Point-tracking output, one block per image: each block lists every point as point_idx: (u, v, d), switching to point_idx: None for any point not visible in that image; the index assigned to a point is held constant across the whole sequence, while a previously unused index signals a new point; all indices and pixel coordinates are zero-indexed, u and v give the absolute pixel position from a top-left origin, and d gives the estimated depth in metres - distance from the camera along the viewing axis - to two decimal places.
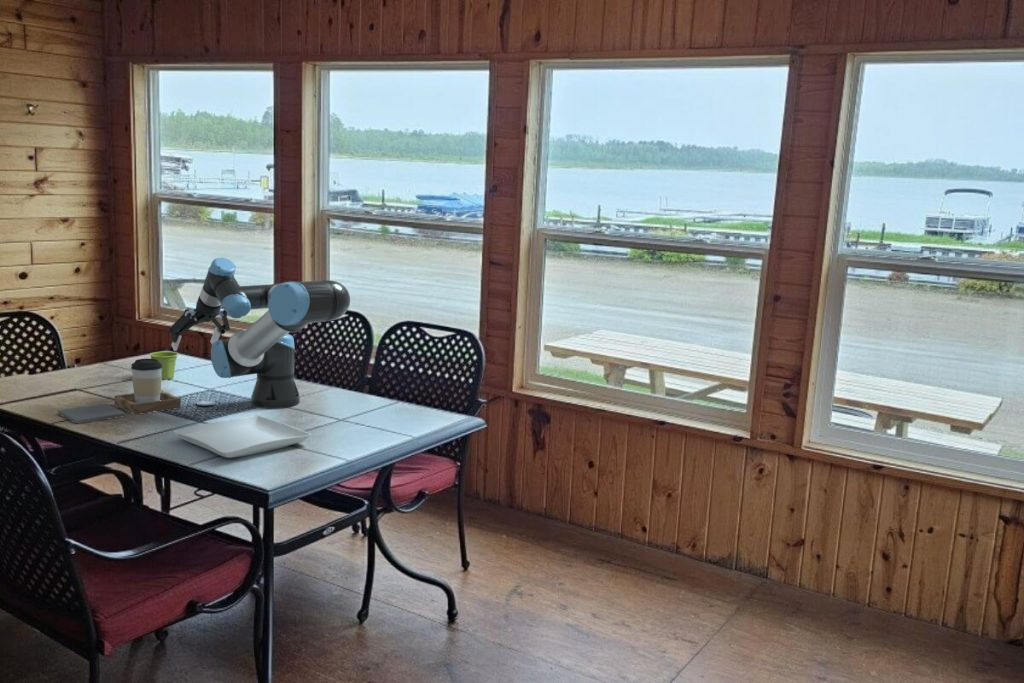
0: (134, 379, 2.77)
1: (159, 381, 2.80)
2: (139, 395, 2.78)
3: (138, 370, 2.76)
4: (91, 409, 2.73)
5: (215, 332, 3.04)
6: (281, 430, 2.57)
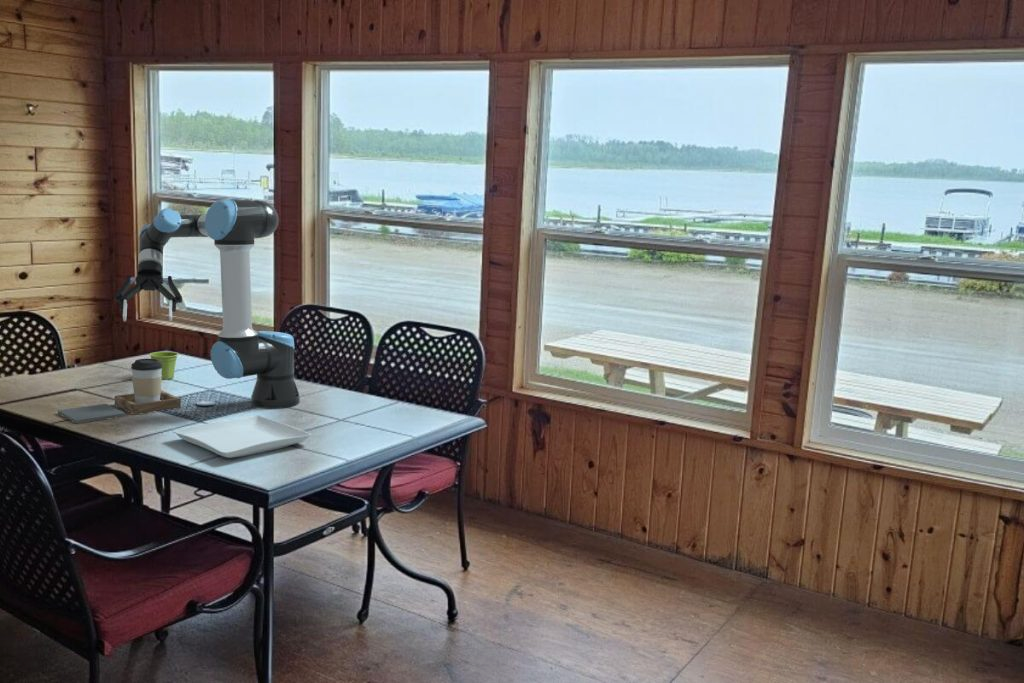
0: (134, 379, 2.77)
1: (159, 381, 2.80)
2: (139, 395, 2.78)
3: (138, 370, 2.76)
4: (91, 409, 2.73)
5: None
6: (281, 430, 2.57)
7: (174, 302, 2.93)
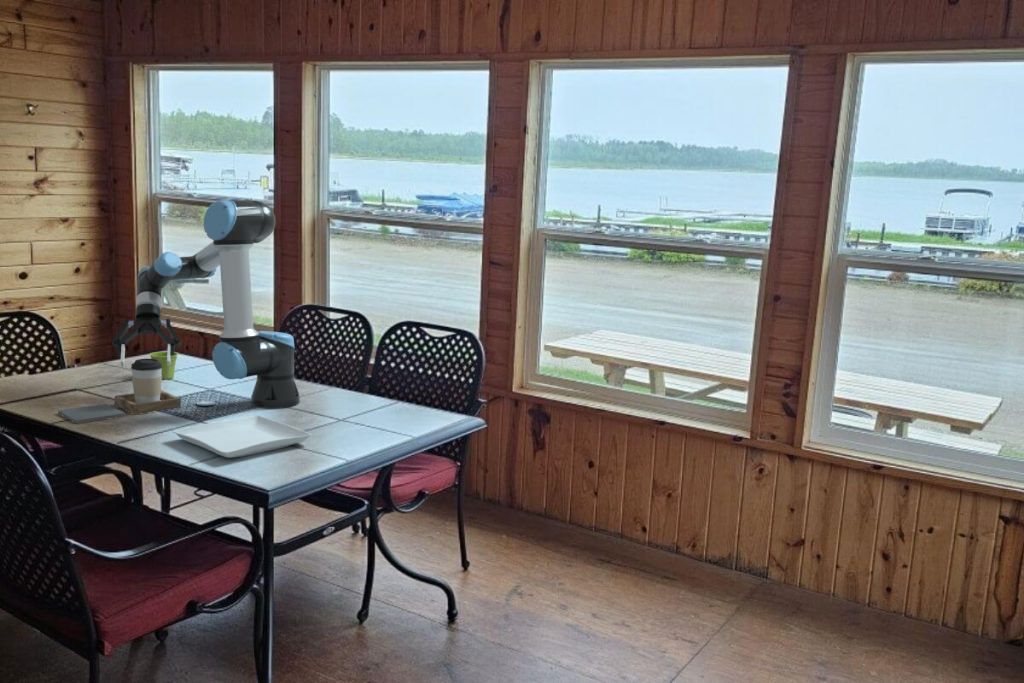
0: (134, 379, 2.77)
1: (159, 381, 2.80)
2: (139, 395, 2.78)
3: (138, 370, 2.76)
4: (91, 409, 2.73)
5: None
6: (281, 430, 2.57)
7: (172, 346, 2.91)
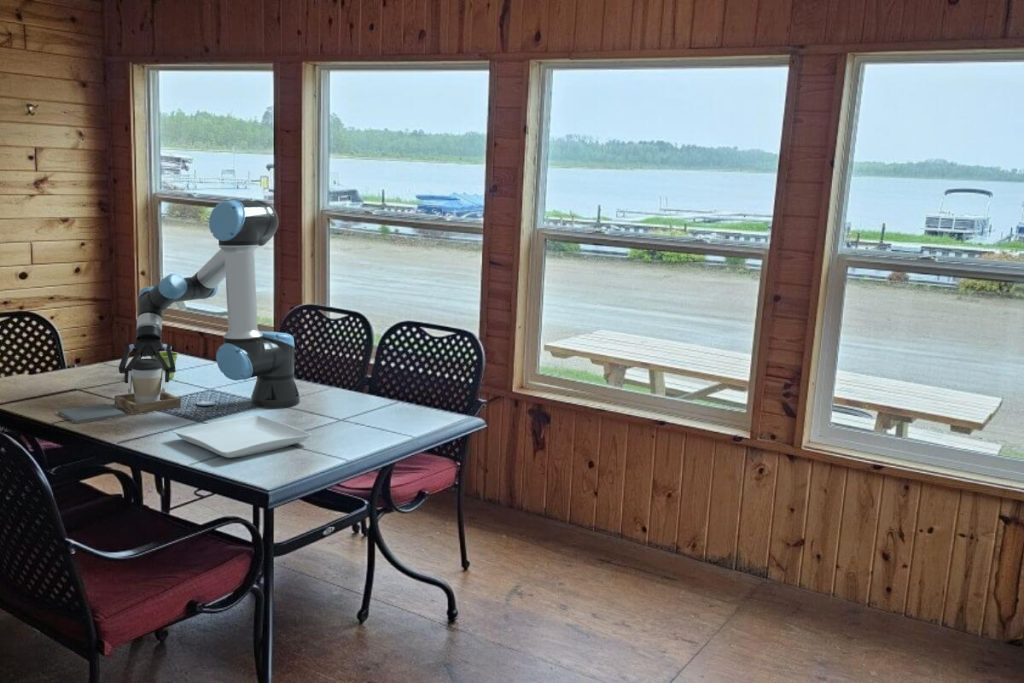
0: (134, 379, 2.77)
1: (159, 381, 2.80)
2: (139, 395, 2.78)
3: (138, 370, 2.76)
4: (91, 409, 2.73)
5: None
6: (281, 430, 2.57)
7: (167, 372, 2.83)
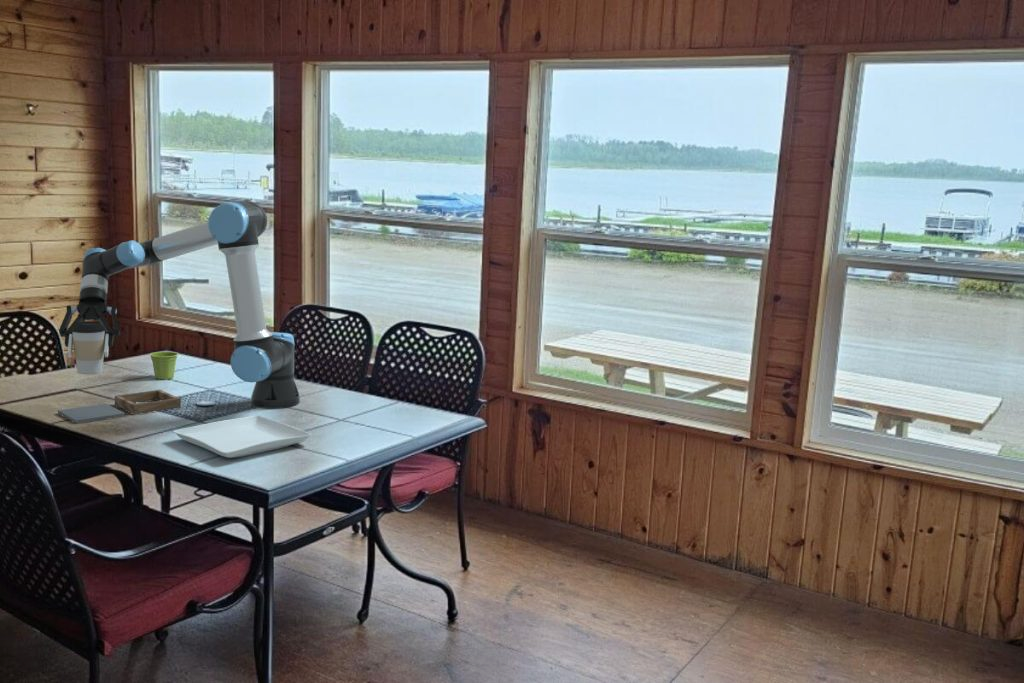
0: (75, 342, 2.63)
1: (102, 345, 2.66)
2: (80, 359, 2.64)
3: (79, 332, 2.62)
4: (91, 409, 2.73)
5: None
6: (281, 430, 2.57)
7: (111, 336, 2.69)
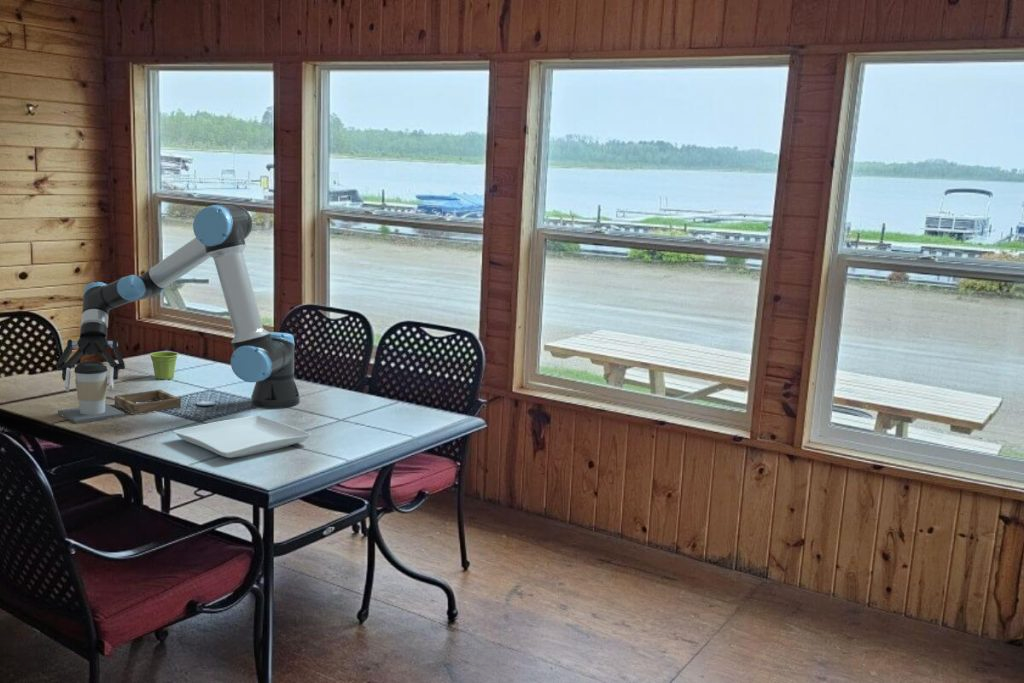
0: (77, 383, 2.65)
1: (104, 385, 2.68)
2: (83, 400, 2.66)
3: (81, 373, 2.64)
4: None
5: None
6: (281, 430, 2.57)
7: (116, 369, 2.71)
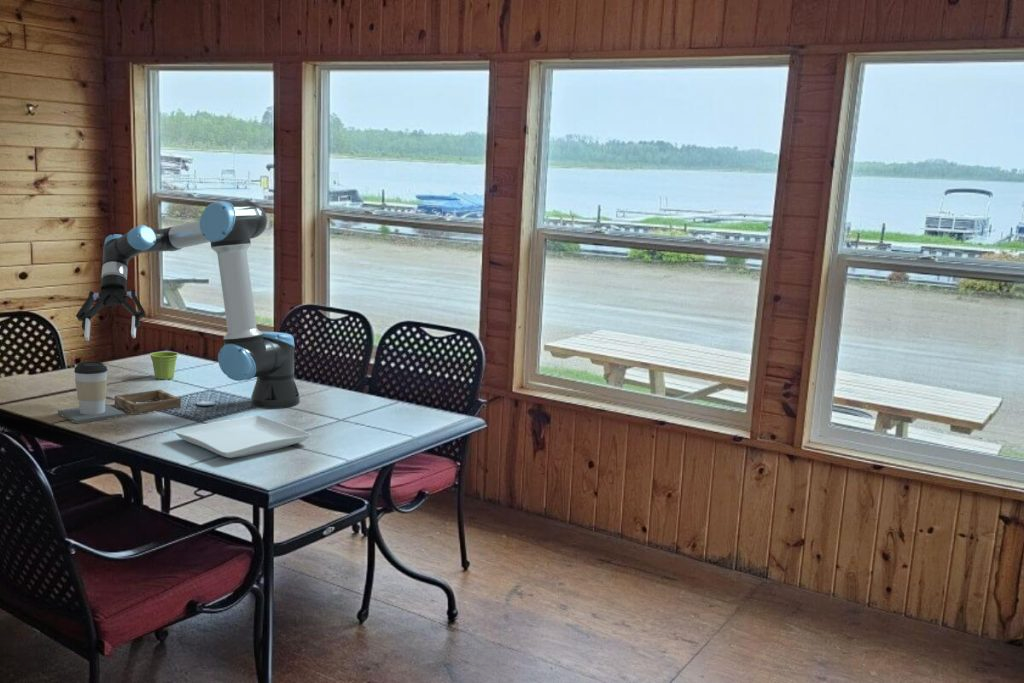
0: (77, 383, 2.65)
1: (104, 385, 2.68)
2: (83, 400, 2.66)
3: (81, 373, 2.64)
4: None
5: None
6: (281, 430, 2.58)
7: (137, 318, 2.85)
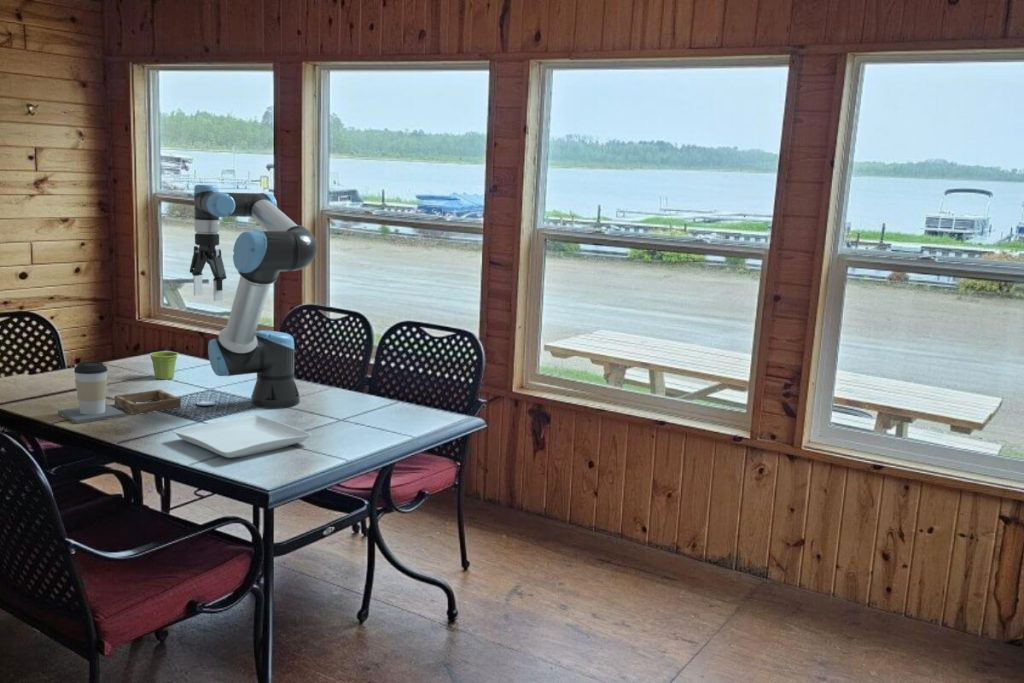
0: (77, 383, 2.65)
1: (104, 385, 2.68)
2: (83, 400, 2.66)
3: (81, 373, 2.64)
4: None
5: None
6: (281, 430, 2.58)
7: (217, 282, 2.91)
